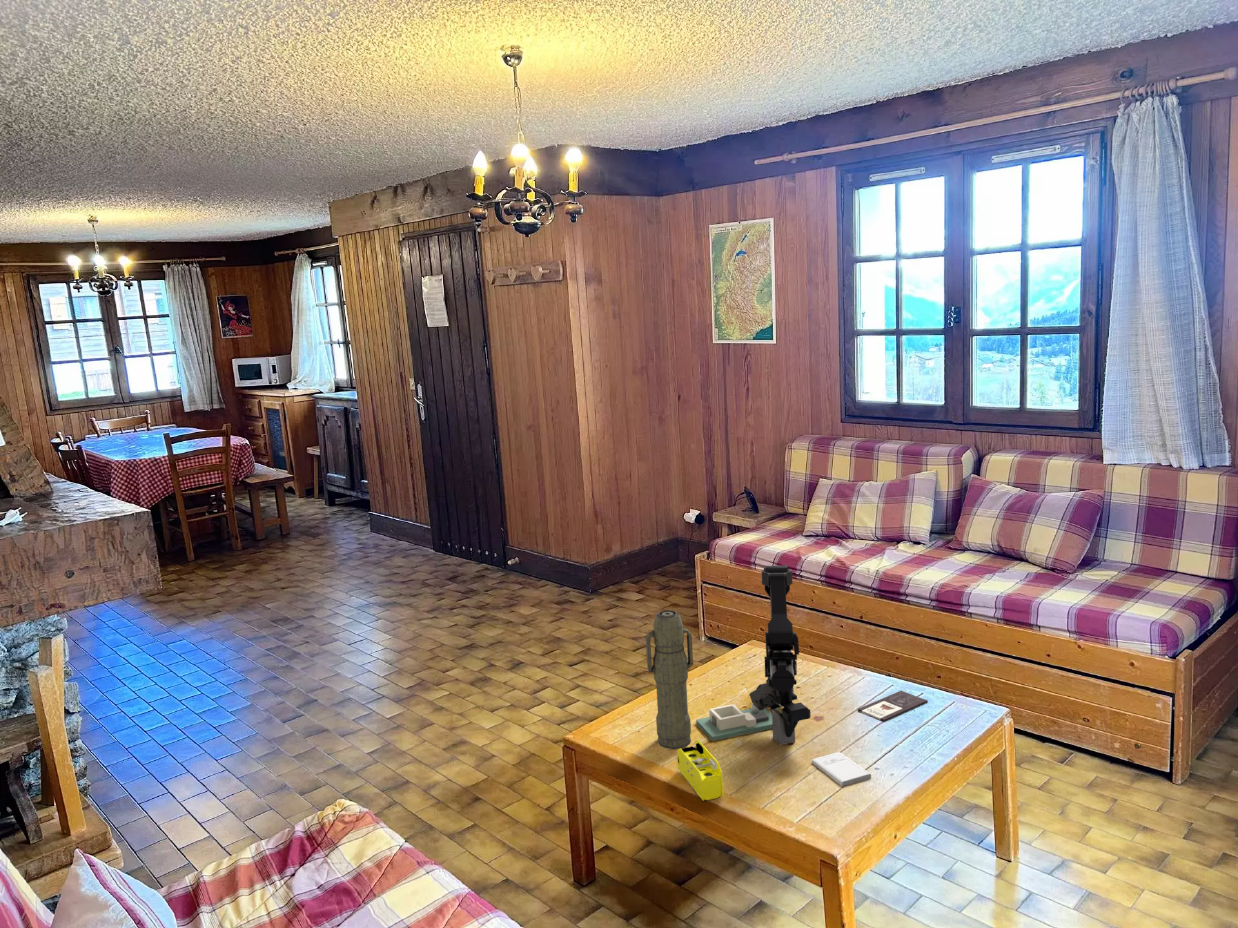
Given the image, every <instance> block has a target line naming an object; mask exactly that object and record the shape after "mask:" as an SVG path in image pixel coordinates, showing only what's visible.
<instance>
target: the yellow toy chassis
mask: <svg viewBox="0 0 1238 928" xmlns="http://www.w3.org/2000/svg"><path fill="white" fill-rule="evenodd" d="M676 750H677V751H676V752H677V766H678V768H677V769H678V770H679V772H680V773H681V774H682V775H683V777H684V778H685V779H686V781H687V784H689V785H690V786H691V790H694V791H695V793H696V794H697V795H698V796H699V798H700V799H701V800H702V801H703V802H704V801H705V800H706V801H709V800H715V799H718V798H720V796H721V797H722V798H723V797H724V786H723V771H722V769H721V766H720V762H719V761H718V760H717V758H715V757H714V755H712V753H711V752H710V751H709V750H708V749H707V747H706V746H705V745H704V744H703V743H702V742H701V740H700V739H697V740H696V741H695V742H694V746H686V747H684V748H680V749H676Z"/></svg>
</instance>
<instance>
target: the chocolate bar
mask: <svg viewBox="0 0 1238 928" xmlns="http://www.w3.org/2000/svg"><path fill="white" fill-rule="evenodd" d="M927 703H928V700H927V699H925V698H923V697H922V698H921V697H920V696H916V695H914V694H911V693H909V692H906V691H904V690H899V691H897V692H894V693H892V694H890V695H888V696H885V697H883V698H881V699H878V700H876V701H873V702H871V703H868V704H865V705H864V706H862V707H859V708H857V712H860V713H862V714H865V715H867V716H870V717H872V718H875V719H876V720H879V721H882V722H884V723H885V722H887V721H889V720H891V719H894V718H896V717H898V716H901V715H903V714H905V713H907V712H909V711H911V710H913V708H914V709H916V708H918V707H921V706H923V705H925V704H927ZM920 705H921V706H920Z"/></svg>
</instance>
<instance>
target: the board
mask: <svg viewBox="0 0 1238 928" xmlns="http://www.w3.org/2000/svg"><path fill="white" fill-rule="evenodd" d="M750 706H751V708H747V709H742V710H740V709H739V708H738V707H737V706H736V704H734V703H731V704H728V705H723V706H722V705H721V706H718V707H712V708H709V709H708V711H709V712H708V713H709V716H708V717H701V718H698V719H697V718H696V719H695V725H697V726H698V728H700V729H701V731H703V733H704V734H705V735H706V736H707V737H708V738H709V739H710V740H711V741H712V742H715V741H719V740H720V741H721V740H723V739H729V738H734V737H738V736H742V735H743V736H744V735H747V734H753V733H757V732H762V731H767V730H771V729H772V730H773V727H772V713H771V711H769V710H768V708H765V709H764V710H758V708H757V707H755V706H754V705H753V703H752V704H750Z"/></svg>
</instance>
